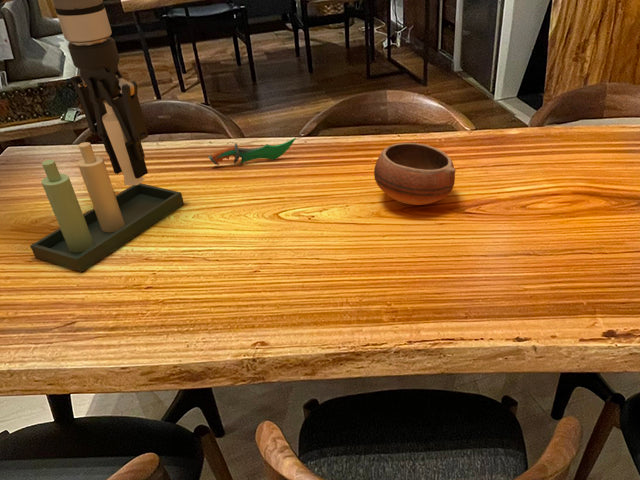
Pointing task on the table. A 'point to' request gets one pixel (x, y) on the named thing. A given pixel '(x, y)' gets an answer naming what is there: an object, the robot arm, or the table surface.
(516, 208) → the table surface
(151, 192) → the tray
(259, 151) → the knife
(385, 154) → the bowl
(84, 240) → the sage bottle
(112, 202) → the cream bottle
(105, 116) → the perfume bottle
